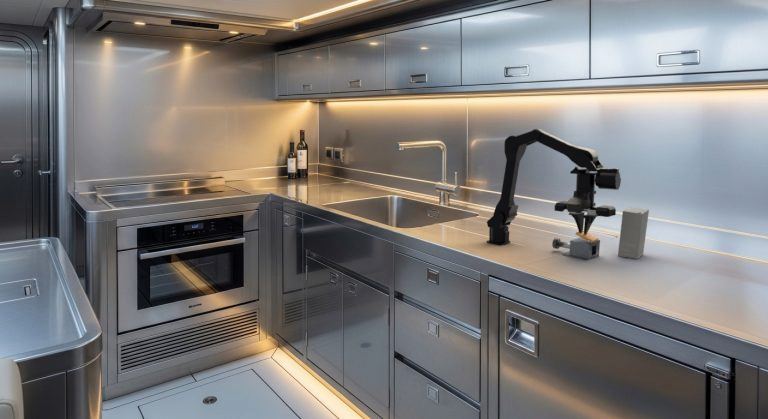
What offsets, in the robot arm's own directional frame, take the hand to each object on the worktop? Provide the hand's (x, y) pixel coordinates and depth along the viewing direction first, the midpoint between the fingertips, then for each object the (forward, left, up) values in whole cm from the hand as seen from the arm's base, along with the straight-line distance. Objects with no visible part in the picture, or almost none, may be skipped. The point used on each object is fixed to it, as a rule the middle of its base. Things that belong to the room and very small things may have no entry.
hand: (583, 234), depth 178 cm
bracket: (0, 0, -7) cm, 7 cm away
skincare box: (+12, +12, -8) cm, 18 cm away
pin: (-4, 0, -7) cm, 8 cm away
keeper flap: (+1, 0, -1) cm, 1 cm away
